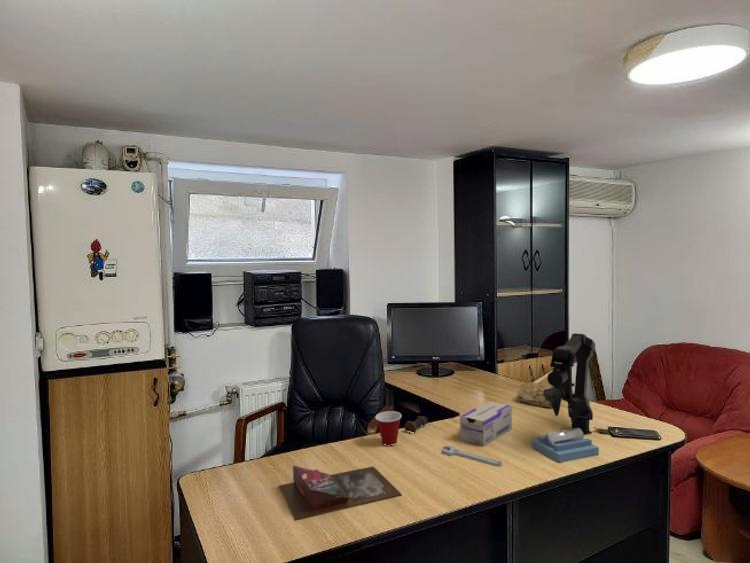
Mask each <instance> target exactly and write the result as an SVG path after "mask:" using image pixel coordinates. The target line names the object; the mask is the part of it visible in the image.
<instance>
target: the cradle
mask: <svg viewBox="0 0 750 563" xmlns="http://www.w3.org/2000/svg"><path fill="white" fill-rule="evenodd" d="M545 435H546V434H545ZM545 435H540V436H537V438H533V439H531V447H532V448H533V449H535V450H536V451H538V452H540V453H541V454H542V455H543V454H544V456H547V457H549V458H551V459H552V460H554V461H555V462H557V463H559V464H560V462H561V463H565V462H570V461H575V460H581V459H586V457H587V458H591V456H592V457H596V456H599V455H600V451H599V450H600V448H599V446H597V445H595V444H593V443H592V442H593V441H592V439H590V438H583V439H582V440H576V441H571V442H565V443H560V444H554V445H553V446H551V447H550V446H548V444H547V443H546V440H545Z"/></svg>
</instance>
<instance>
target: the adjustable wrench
mask: <svg viewBox="0 0 750 563" xmlns="http://www.w3.org/2000/svg"><path fill="white" fill-rule="evenodd" d="M447 449H448V450H447ZM441 453H442V454H443V453H444V454H443V455H445V454H447V455H446V456H449V457H452V456H459V457H463V458H466V459H469V460H474V461H477V462H479V463H480V462H481V463H483V464H487V465H491V466H495V467H503V461H500V460H497V459H493V458H489V457H486V456H482V455H480V454H479V455H478V454H475V453H471V452H467V451H463V450H461V449H459V448H458V447H455V446H454V445H443V446H442V448H441Z"/></svg>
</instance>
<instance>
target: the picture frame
mask: <svg viewBox="0 0 750 563" xmlns="http://www.w3.org/2000/svg"><path fill="white" fill-rule="evenodd" d="M292 474H293V476H292V478H293V482H289V483H285V484H281V485H280V484H279V485H278V488H279V490H280V492H281V494H282V496H283V498H284V500H285V503H286V505H287V507H288V509H289V511H290V513H291V515H292V517H293V519H294V521H301V520H304V519H309V518H312V517H317V516H321V515H325V514H330V513H333V512H338V511H343V510H347V509H350V508H354V507H360V506H363V505H368V504H373V503H376V502H379V501H380V502H381V501H384V500H389V499H394V498H397V497H401V496H403V493H401V492H400V490H398V489H397V488H396V487H395V486H394V485H393V483H391V482H390V481H389V480H388V479H387V478H386V477H385V476H384V475H383V474H382V473H381V472H380V471H379V470H378V469H377V468H376V467H374V466H368V467H367V466H366V467H364V468H359V469H357V468H356V469H353V470H348V471H343V472H338V473H334V474H333V473H332V474H329V473H326V472H322V471H320V470H319V469H317V468H316V469H314V470H313V469H310V468H307V467H306V468H305V467H300V466H295V465H293V466H292ZM305 474H306V478H303V475H305Z"/></svg>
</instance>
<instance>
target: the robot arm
mask: <svg viewBox="0 0 750 563" xmlns="http://www.w3.org/2000/svg"><path fill="white" fill-rule="evenodd" d="M595 351H596V343H595V341H594V340H593V339H592V338H589V337H588V336H586V334H584V333H576V332H574V333H572V334H571V336H570V338H569V339H568V340H567V342H566V343H565V344H564V345H562V346H561V345H560V346H557V347H556V348H555V349H554V350H553V352H552V356H551V360H550V364H549V367H551V368H552V371H551V372H549V373H548V375H547V376H546V377H547V378H546V379H547V382H548V384H549V386H551V387H552V388H550V389H545V390H544V391H543V396H544V397H545V399H546V401H550V403H551V405H552V408H551V409H552V410H553V413H554V415H555V416H556V417H558V416H559V413H560V410H561V409H560V408H561V402H562V401H564V402H567V414H568V417H569V418H570V422H571V429H574V428H580V429H581V430H582V432H583V435H588V434H592V433H593V431H591V430H590V421H592V420H593V418H594V416H593V414H594V413H593V410H592V408H591V406H590V400H589V398H588V396H587V390H588V389H587V388H588V376H589V375H588V374H589V362H590V360H591V359H592V357H593V356H594V352H595ZM575 362H576V369H575V379H574V380H575V382H573V370H572V369H573V368H574V365H575ZM573 387H574V391H573ZM573 392H574V393H573Z"/></svg>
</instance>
